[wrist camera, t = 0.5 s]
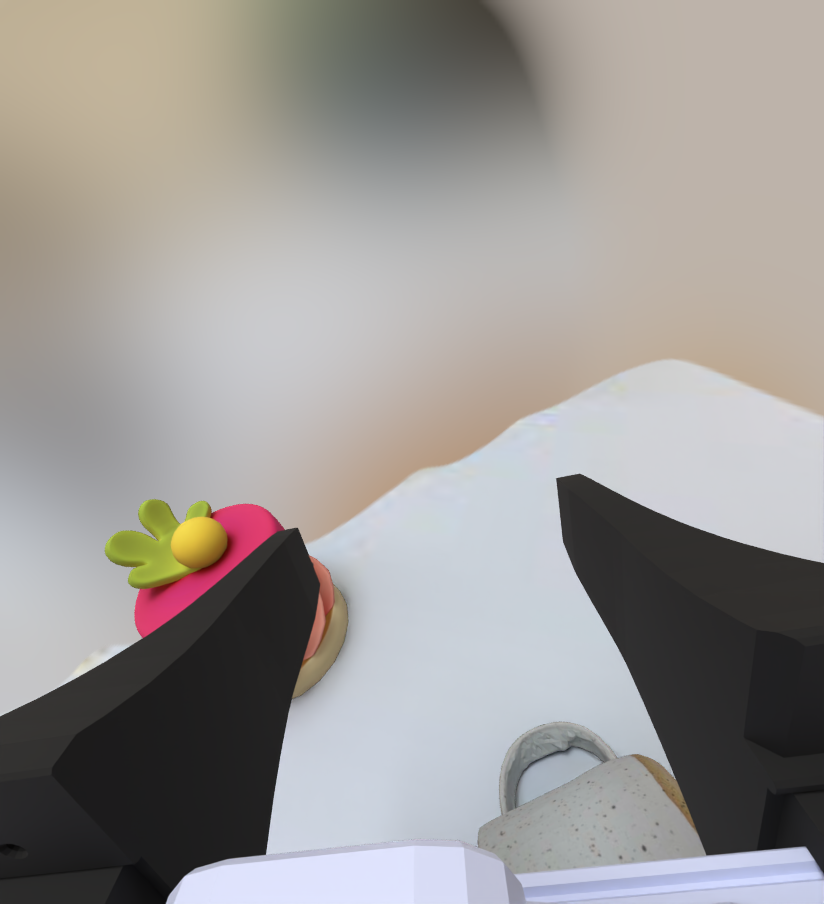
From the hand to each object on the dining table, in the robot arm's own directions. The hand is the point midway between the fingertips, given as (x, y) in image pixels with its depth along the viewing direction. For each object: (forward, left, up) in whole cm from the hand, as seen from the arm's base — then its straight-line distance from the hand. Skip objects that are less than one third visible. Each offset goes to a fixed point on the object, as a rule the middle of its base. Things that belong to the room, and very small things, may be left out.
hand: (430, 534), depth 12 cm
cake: (+8, +19, -19) cm, 28 cm away
